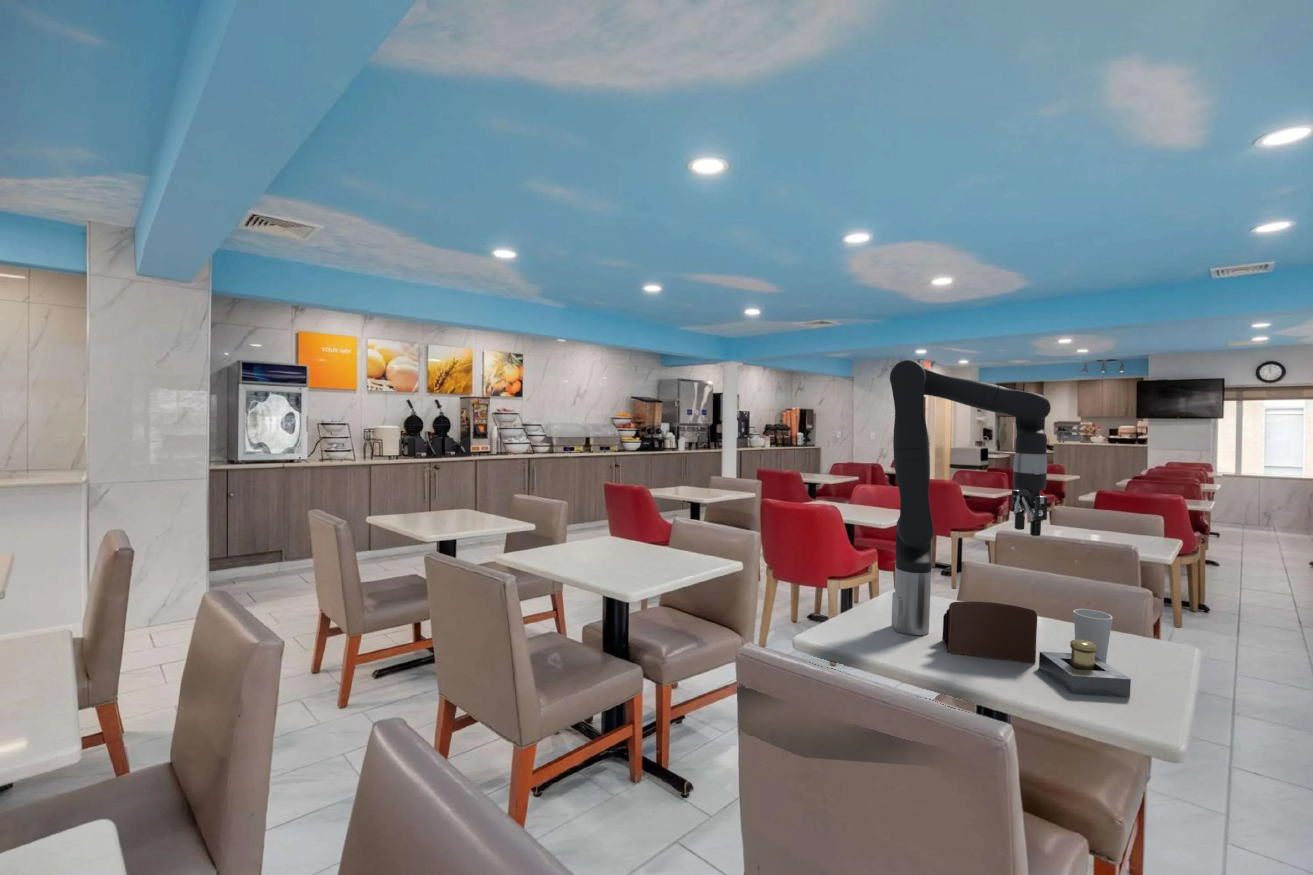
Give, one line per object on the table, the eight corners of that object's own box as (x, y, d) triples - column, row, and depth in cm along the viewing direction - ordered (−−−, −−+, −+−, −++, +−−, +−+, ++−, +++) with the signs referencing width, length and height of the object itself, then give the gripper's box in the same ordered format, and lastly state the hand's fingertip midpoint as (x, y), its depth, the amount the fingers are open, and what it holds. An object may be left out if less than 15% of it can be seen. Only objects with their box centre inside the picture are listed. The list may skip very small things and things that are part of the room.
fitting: (1076, 685, 142) (1078, 646, 142) (1064, 676, 147) (1065, 638, 147) (1099, 686, 141) (1101, 647, 141) (1086, 677, 146) (1088, 639, 146)
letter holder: (1035, 664, 154) (1038, 608, 153) (947, 654, 160) (949, 599, 159) (1025, 650, 163) (1027, 596, 163) (942, 640, 169) (944, 588, 169)
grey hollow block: (1071, 693, 138) (1072, 675, 138) (1038, 667, 152) (1039, 651, 151) (1129, 697, 137) (1130, 678, 136) (1091, 670, 150) (1092, 654, 150)
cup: (1098, 670, 151) (1101, 621, 150) (1064, 658, 158) (1066, 611, 157) (1117, 664, 154) (1119, 616, 154) (1082, 653, 162) (1084, 607, 161)
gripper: (1002, 468, 172) (1000, 527, 172) (1028, 473, 158) (1025, 537, 158) (1031, 468, 171) (1028, 528, 172) (1059, 473, 157) (1056, 538, 158)
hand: (1027, 532), depth 165 cm, fingers open, 8 cm apart
